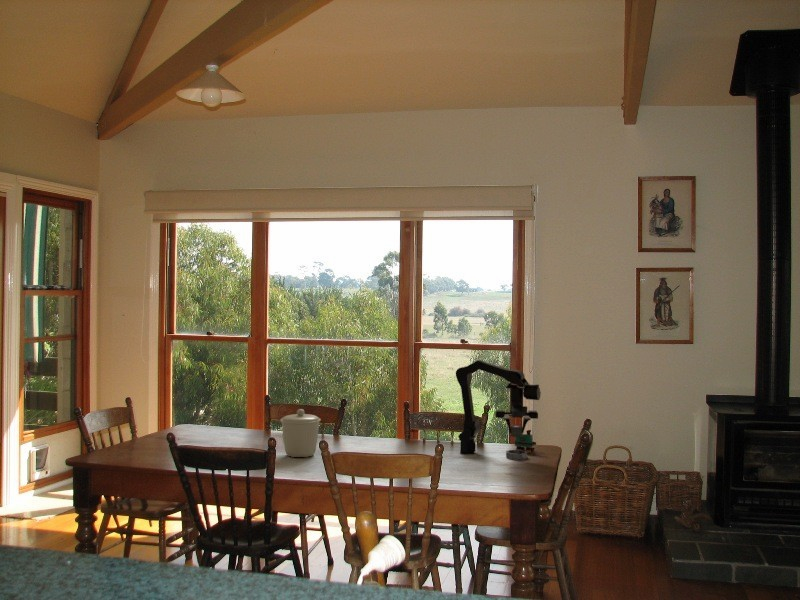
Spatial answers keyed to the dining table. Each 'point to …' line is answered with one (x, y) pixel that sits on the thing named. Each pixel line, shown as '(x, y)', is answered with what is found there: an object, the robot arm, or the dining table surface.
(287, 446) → the canister
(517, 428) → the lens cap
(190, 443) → the dining table surface
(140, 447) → the dining table surface
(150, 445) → the dining table surface
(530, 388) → the robot arm
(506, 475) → the dining table surface
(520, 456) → the barrel ring
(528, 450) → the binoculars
